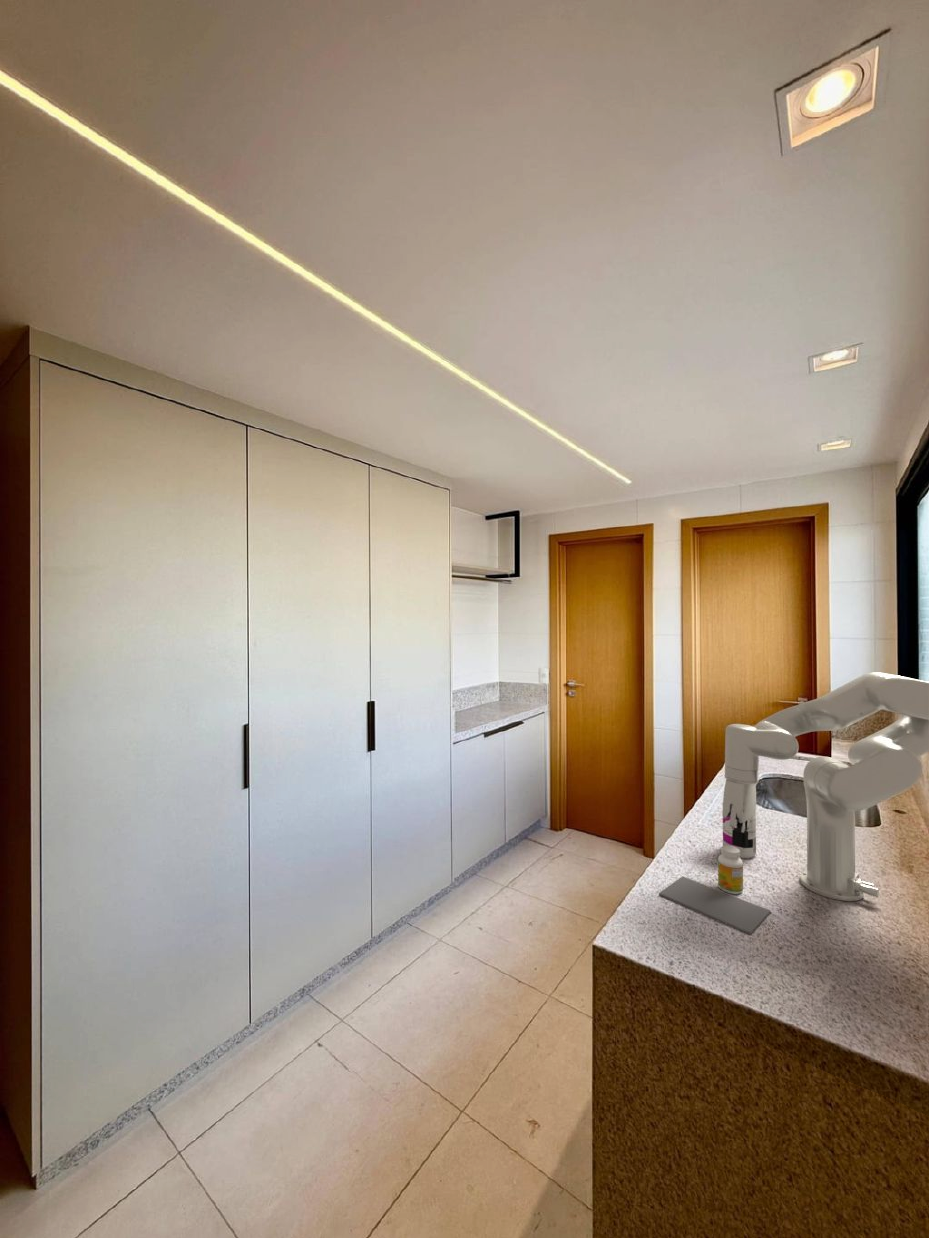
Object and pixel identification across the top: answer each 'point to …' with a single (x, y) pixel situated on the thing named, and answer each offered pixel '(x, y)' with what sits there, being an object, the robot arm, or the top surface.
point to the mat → (716, 904)
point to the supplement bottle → (730, 870)
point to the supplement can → (751, 848)
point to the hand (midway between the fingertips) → (740, 845)
